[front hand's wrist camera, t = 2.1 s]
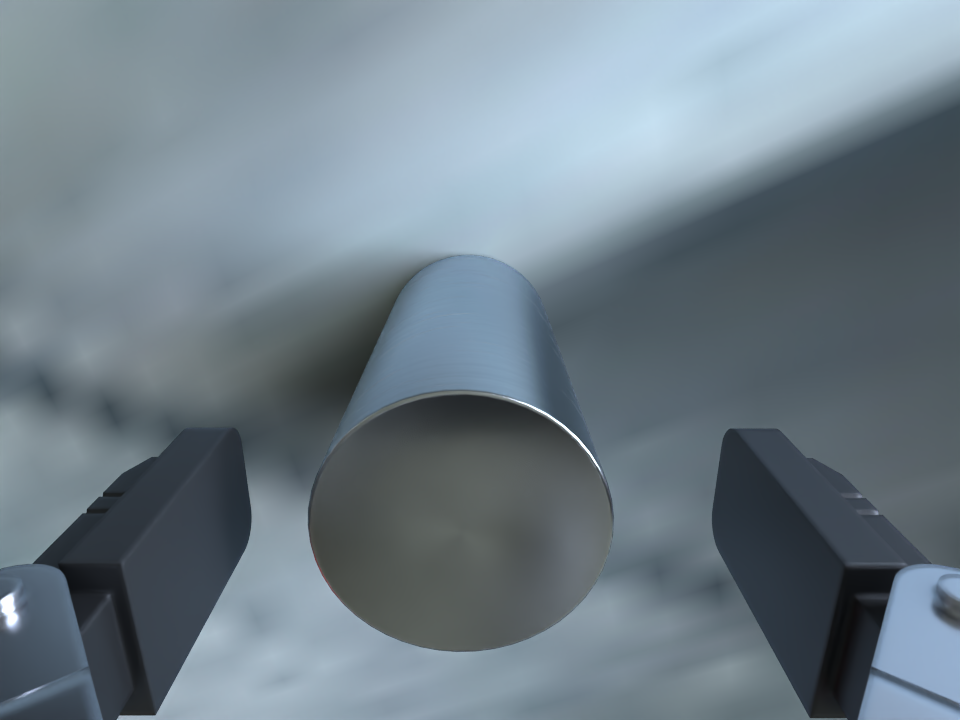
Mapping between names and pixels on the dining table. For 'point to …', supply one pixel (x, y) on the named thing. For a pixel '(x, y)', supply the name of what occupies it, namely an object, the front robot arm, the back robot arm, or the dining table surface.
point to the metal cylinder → (462, 470)
